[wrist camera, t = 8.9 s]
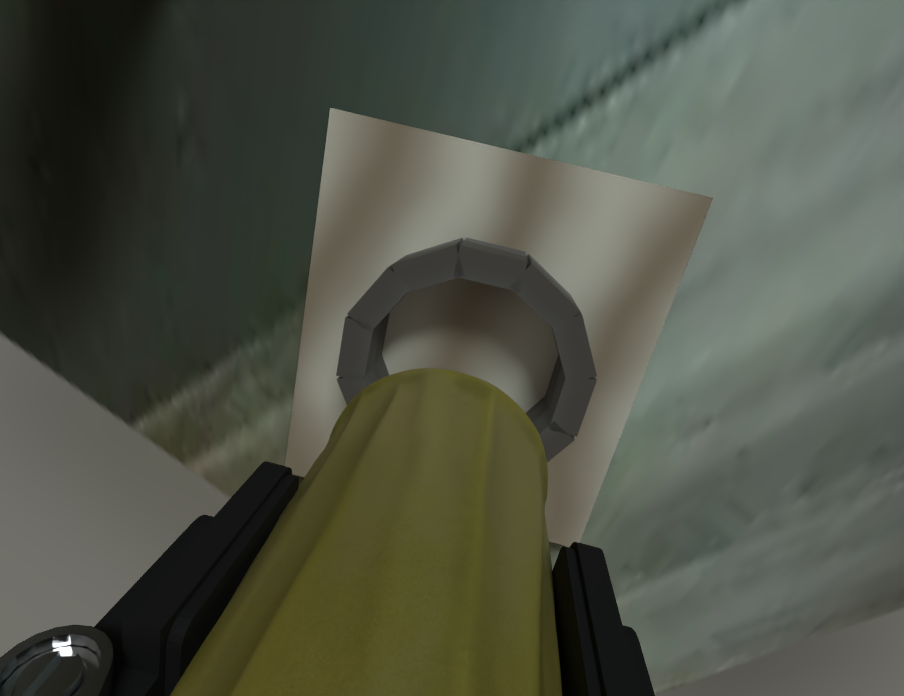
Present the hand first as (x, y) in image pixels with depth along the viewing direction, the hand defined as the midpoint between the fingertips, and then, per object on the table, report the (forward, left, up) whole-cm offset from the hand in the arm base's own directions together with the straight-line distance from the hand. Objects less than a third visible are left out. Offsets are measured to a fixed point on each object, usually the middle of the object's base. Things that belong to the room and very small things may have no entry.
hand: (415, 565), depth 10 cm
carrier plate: (0, 0, -15) cm, 15 cm away
